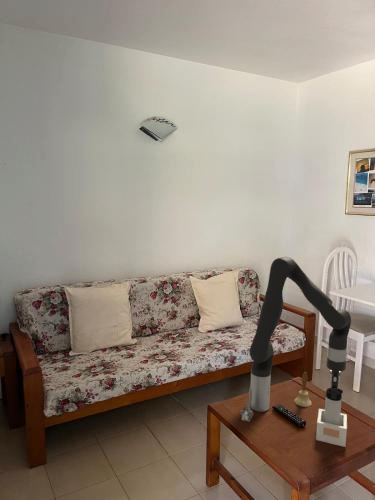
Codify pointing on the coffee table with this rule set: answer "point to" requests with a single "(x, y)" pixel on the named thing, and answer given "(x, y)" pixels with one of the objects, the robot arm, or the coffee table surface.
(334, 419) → the travel mug
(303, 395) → the hand bell
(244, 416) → the house of cards
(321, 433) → the socket
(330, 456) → the coffee table surface
